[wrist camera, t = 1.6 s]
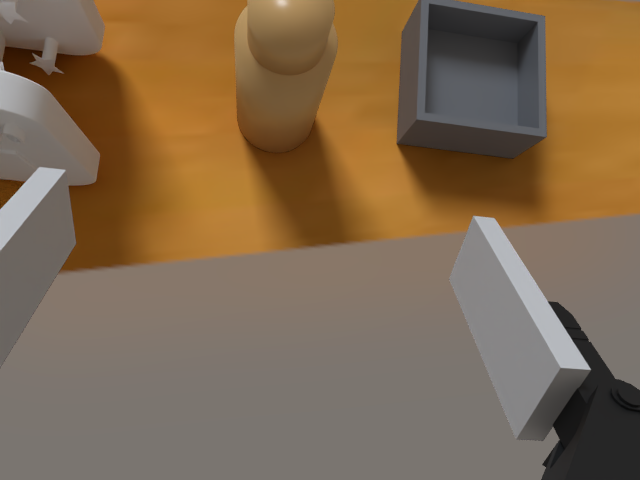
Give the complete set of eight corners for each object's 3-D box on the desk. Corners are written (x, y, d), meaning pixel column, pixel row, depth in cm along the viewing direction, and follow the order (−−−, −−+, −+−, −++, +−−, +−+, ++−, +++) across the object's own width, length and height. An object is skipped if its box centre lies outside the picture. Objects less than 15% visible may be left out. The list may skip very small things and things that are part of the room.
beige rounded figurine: (233, 147, 32) (227, 50, 21) (241, 76, 33) (239, -54, 22) (309, 157, 33) (344, 67, 22) (315, 86, 34) (351, -35, 23)
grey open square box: (396, 143, 34) (416, 119, 30) (402, 31, 35) (421, -5, 32) (512, 158, 35) (546, 137, 31) (512, 49, 37) (545, 16, 33)
